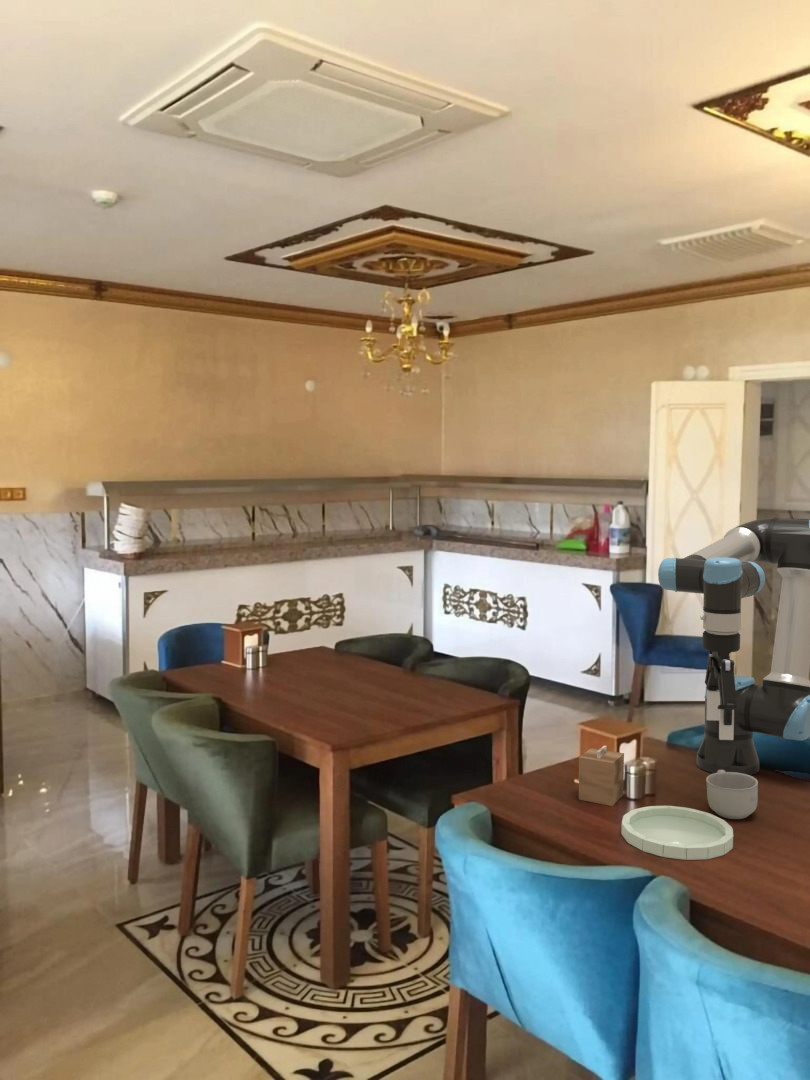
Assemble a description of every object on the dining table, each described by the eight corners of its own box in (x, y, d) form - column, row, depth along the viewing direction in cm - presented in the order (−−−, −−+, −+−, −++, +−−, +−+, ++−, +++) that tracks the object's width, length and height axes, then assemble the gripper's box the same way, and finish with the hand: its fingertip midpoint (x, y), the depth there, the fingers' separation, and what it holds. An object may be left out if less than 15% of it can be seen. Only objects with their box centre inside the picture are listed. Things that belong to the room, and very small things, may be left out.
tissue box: (590, 788, 219) (591, 741, 218) (623, 795, 215) (624, 746, 214) (578, 799, 212) (579, 750, 211) (612, 806, 208) (613, 756, 207)
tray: (651, 808, 207) (651, 798, 206) (749, 834, 192) (749, 823, 192) (602, 839, 190) (603, 827, 190) (706, 869, 176) (706, 857, 176)
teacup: (761, 825, 197) (762, 789, 197) (708, 821, 199) (709, 785, 199) (750, 802, 211) (751, 767, 210) (700, 798, 213) (701, 764, 212)
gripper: (692, 620, 207) (691, 712, 209) (714, 643, 182) (712, 747, 184) (727, 620, 206) (725, 713, 208) (754, 644, 181) (751, 748, 183)
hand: (719, 729), depth 196 cm, fingers open, 13 cm apart
